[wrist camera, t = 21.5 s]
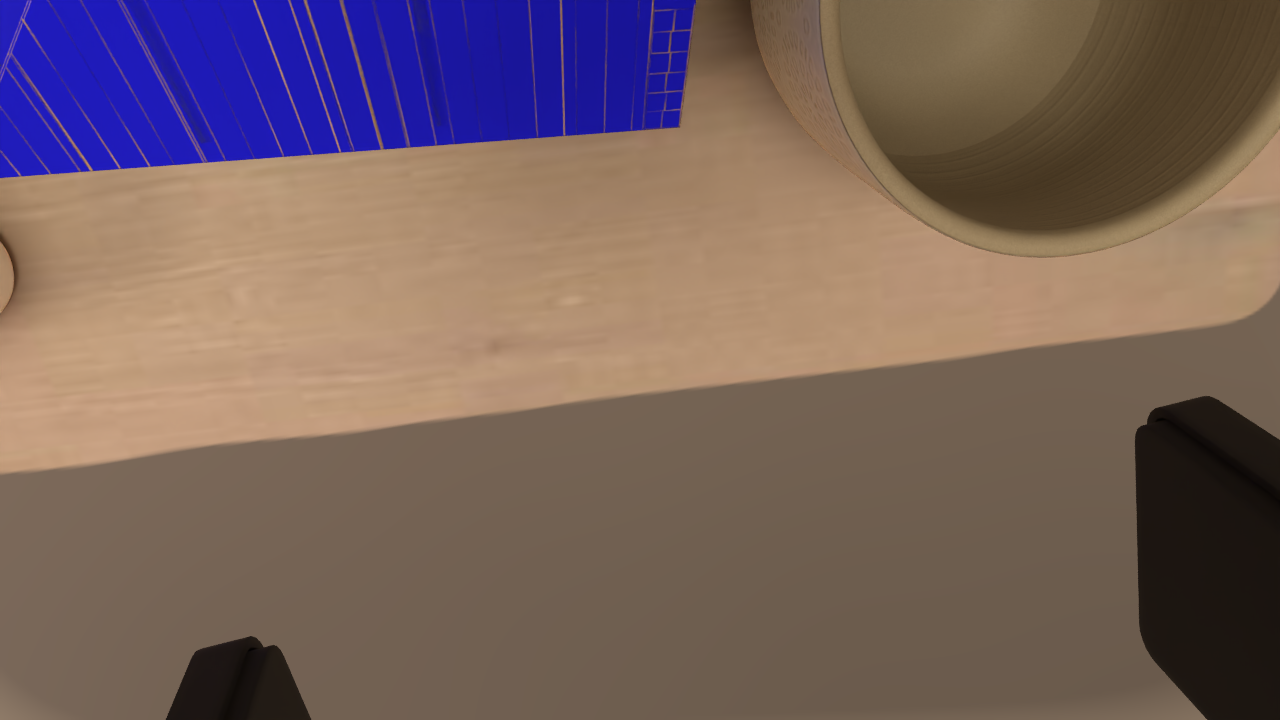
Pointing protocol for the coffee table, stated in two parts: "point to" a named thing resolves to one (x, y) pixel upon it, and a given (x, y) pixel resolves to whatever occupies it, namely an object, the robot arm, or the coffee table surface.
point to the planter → (1032, 108)
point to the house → (324, 76)
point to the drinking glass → (5, 277)
